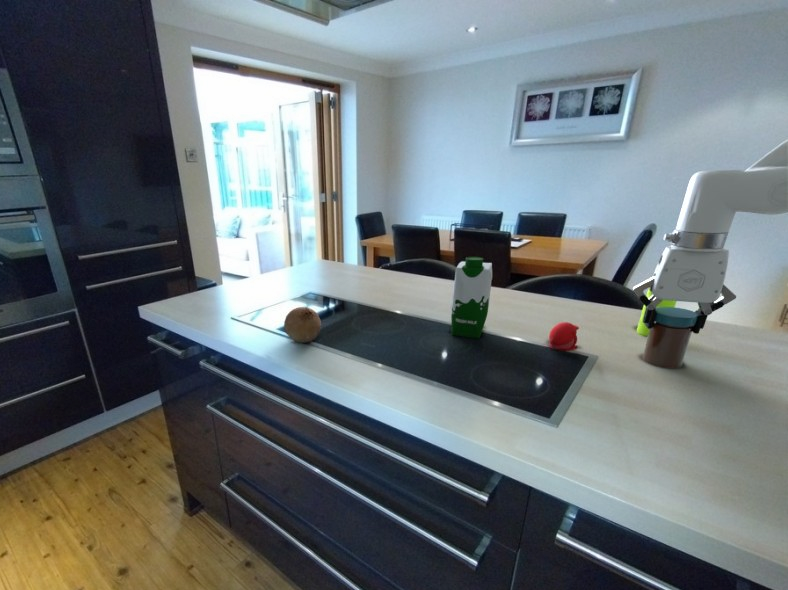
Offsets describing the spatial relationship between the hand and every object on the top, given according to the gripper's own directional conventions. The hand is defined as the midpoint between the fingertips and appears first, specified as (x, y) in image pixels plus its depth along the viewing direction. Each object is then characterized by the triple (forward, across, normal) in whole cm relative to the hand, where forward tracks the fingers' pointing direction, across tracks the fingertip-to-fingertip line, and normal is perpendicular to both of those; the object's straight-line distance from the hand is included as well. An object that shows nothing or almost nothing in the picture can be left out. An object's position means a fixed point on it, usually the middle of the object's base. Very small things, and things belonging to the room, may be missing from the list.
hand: (670, 328), depth 80 cm
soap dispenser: (+9, +3, +20) cm, 22 cm away
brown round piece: (+8, -78, -18) cm, 80 cm away
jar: (+8, 0, 0) cm, 8 cm away
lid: (-3, 0, 0) cm, 3 cm away
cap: (+8, -18, +2) cm, 20 cm away
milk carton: (+8, -40, +4) cm, 41 cm away
